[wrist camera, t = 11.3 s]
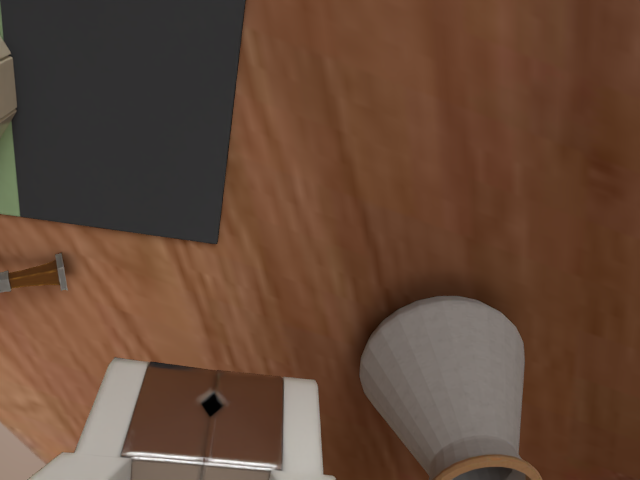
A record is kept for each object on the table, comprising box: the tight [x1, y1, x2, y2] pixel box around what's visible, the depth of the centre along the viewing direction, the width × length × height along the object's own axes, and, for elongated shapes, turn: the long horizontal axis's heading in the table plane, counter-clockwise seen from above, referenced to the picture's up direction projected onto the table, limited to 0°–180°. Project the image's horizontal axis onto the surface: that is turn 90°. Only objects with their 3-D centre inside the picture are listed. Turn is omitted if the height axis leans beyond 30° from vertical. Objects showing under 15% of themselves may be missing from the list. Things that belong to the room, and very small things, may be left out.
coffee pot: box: [359, 296, 542, 480], centre depth 37 cm, size 21×12×15 cm, turn 21°
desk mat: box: [0, 0, 246, 244], centre depth 30 cm, size 17×22×1 cm
